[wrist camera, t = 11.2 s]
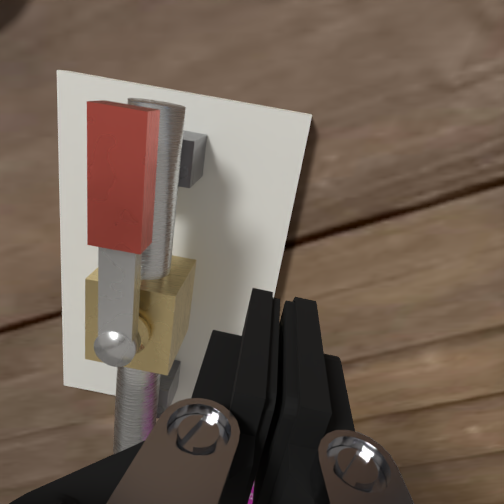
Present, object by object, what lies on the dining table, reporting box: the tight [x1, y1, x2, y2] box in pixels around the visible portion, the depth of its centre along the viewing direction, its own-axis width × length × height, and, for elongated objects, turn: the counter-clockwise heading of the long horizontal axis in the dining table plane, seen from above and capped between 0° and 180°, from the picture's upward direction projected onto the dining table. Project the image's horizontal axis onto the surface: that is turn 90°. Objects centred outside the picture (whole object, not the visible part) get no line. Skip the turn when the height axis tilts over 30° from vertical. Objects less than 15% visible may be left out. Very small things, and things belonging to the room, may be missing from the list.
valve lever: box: [87, 100, 160, 367], centre depth 22 cm, size 3×15×2 cm, turn 171°
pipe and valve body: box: [85, 98, 207, 454], centre depth 29 cm, size 27×6×9 cm, turn 171°
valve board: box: [57, 70, 312, 405], centre depth 34 cm, size 28×18×2 cm, turn 171°
